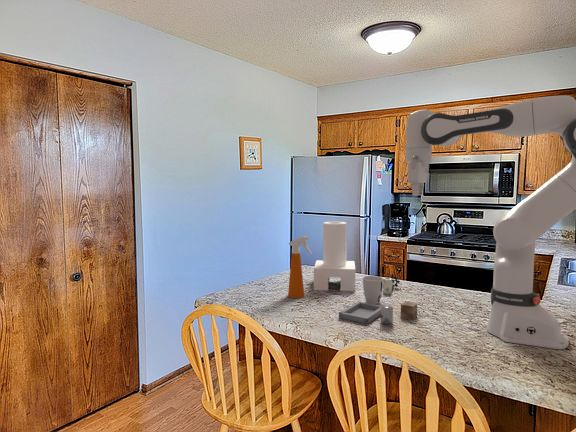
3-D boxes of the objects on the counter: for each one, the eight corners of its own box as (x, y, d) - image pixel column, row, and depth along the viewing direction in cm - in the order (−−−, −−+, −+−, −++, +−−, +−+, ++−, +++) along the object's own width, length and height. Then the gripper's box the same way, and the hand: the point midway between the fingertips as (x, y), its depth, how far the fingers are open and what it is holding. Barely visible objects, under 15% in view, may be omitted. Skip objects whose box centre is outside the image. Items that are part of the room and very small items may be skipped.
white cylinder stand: (316, 279, 199) (316, 220, 196) (354, 280, 196) (354, 221, 194) (313, 289, 181) (313, 224, 178) (355, 291, 178) (355, 225, 175)
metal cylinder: (394, 323, 137) (394, 306, 137) (390, 326, 134) (390, 309, 134) (383, 320, 140) (383, 304, 139) (378, 324, 136) (379, 307, 136)
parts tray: (385, 312, 149) (385, 306, 148) (367, 324, 136) (367, 318, 136) (358, 307, 155) (358, 301, 155) (338, 318, 142) (338, 312, 142)
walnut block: (417, 316, 144) (417, 303, 143) (412, 320, 140) (413, 306, 140) (404, 314, 147) (405, 301, 146) (400, 317, 143) (400, 304, 142)
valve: (393, 295, 171) (399, 288, 182) (393, 280, 171) (400, 274, 181) (378, 293, 174) (385, 287, 185) (378, 278, 174) (385, 273, 184)
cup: (383, 305, 156) (383, 281, 156) (362, 304, 158) (362, 280, 157) (382, 299, 164) (382, 276, 163) (362, 298, 166) (363, 275, 165)
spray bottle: (310, 299, 165) (310, 237, 163) (285, 297, 168) (285, 236, 166) (314, 295, 172) (314, 235, 169) (291, 293, 175) (290, 234, 173)
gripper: (423, 155, 130) (422, 196, 131) (431, 158, 148) (430, 194, 149) (403, 155, 133) (402, 196, 134) (414, 158, 151) (413, 194, 152)
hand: (417, 195), depth 142 cm, fingers open, 8 cm apart
